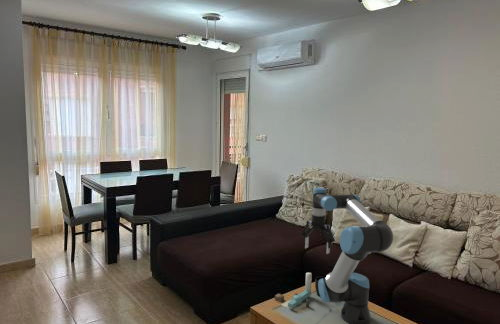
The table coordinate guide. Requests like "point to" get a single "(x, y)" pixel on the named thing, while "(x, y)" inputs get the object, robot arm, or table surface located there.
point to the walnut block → (279, 297)
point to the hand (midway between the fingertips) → (317, 250)
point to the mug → (317, 284)
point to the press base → (300, 307)
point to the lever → (302, 296)
